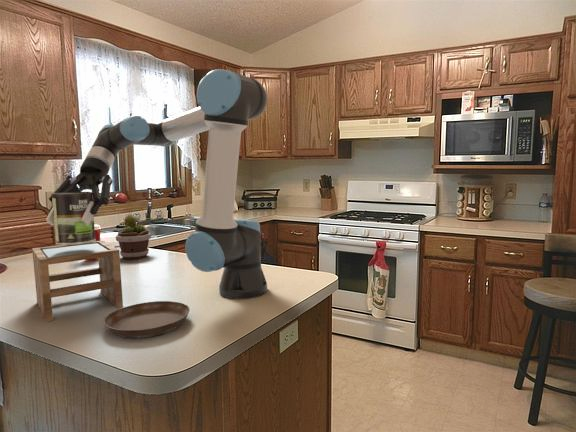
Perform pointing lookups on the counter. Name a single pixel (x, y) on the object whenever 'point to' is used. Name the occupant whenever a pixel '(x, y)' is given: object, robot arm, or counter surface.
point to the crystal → (110, 239)
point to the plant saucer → (146, 319)
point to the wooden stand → (107, 271)
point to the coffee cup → (97, 237)
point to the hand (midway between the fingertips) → (67, 222)
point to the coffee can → (72, 218)
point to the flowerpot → (133, 239)
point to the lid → (72, 250)
